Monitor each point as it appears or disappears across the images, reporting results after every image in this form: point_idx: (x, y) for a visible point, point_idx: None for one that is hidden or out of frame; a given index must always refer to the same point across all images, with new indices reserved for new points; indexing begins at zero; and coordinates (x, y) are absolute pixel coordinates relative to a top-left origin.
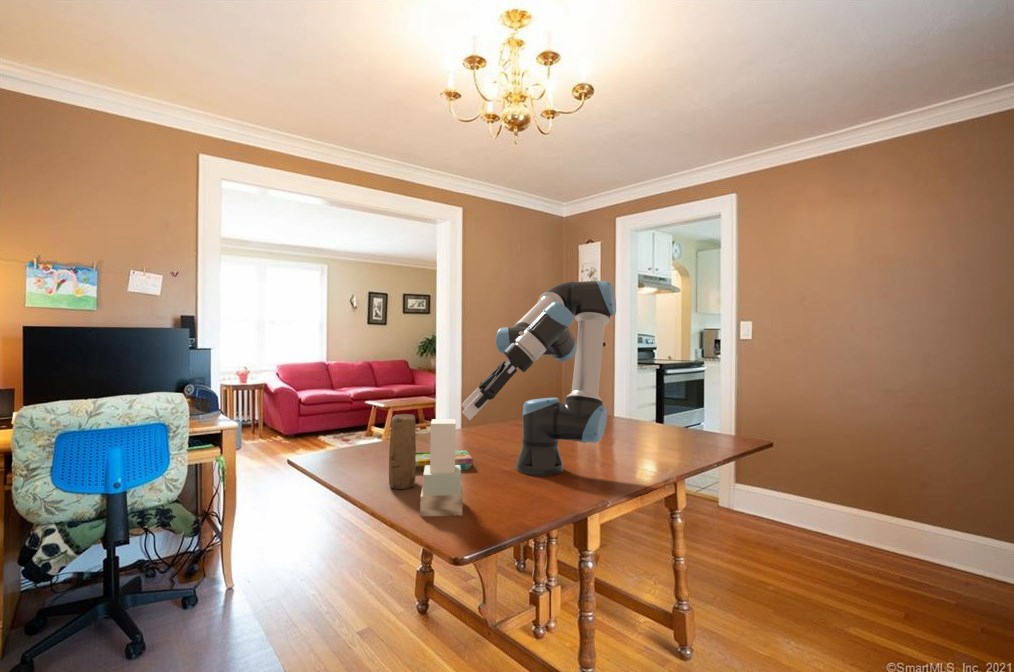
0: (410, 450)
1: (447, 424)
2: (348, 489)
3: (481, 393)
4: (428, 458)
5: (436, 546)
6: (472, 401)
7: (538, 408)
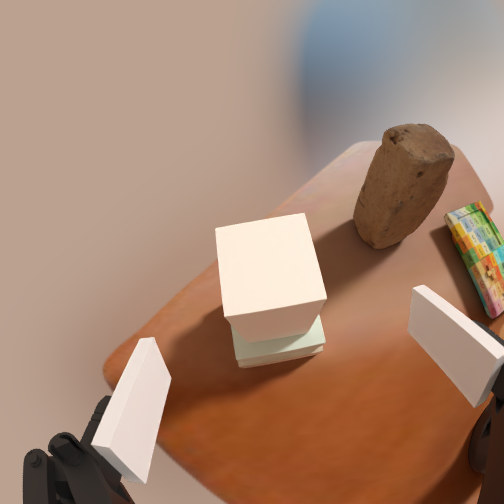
0: (382, 206)
1: (221, 286)
2: (335, 167)
3: (94, 445)
4: (473, 237)
5: (125, 341)
6: (121, 388)
7: None
